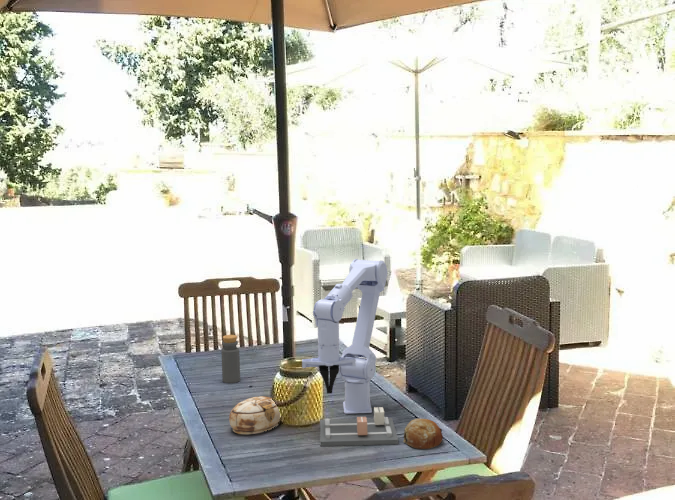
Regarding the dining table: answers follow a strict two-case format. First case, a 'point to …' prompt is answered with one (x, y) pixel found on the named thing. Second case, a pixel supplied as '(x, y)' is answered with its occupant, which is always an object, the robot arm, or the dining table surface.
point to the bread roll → (422, 434)
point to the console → (346, 432)
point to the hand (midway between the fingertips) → (329, 392)
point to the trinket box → (254, 415)
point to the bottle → (230, 359)
